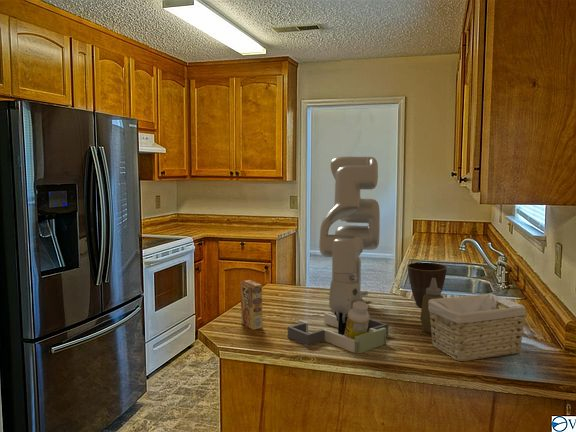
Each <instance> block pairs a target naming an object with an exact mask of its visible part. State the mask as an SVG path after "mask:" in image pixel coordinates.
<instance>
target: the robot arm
mask: <svg viewBox="0 0 576 432" xmlns="http://www.w3.org/2000/svg"><path fill="white" fill-rule="evenodd" d="M378 165H379V164H378V161H377V158H375V157H374V156H339V157H334V158H333V159H332V160H331V161H330V171H331V175H332V176H333V178H334V181H335V182H334V183H335V184H334V186H335V187H334V205H333V207H332V209H330V210H329V211H328V212H327V213H326V215H325V217H324V218H323V219H322V221H321V224H320V228H319V230H320V231H319V241H318V242H319V246H318V248H319V252H320V254H321V255H322V256H323V257H326V258H332V259H331V261H332V262H331V267H332V268H331V276H332V277H331V278H332V279H331V281H330V285H329V296H328V297H329V298H328V305H329V306H328V307H329V309H330V312H331V313H332V314H334V316H336V317H337V321H339V322H338V328H337V329H338V331H337V333H338V334H340V335H343V336H344V334H345V328H346V322H347V317H348V312H349V310H351V309H353V308H352V306H353V303H354V302H356V301H361V302H364V303H365V299H363V297H366V296H368V295H369V291H367V290H364V291H362V290H361V286H362V285H361V281H362V280H361V277H362V275H361V274H362V272H361V271H362V262H361V258H360V255H361V254H362V253H363V250H367V251H368V250H369V251H370V250H371V251H373V250H377V248H378V247H379V245H380V238H381V237H380V236H381V235H380V233H381V232H380V229H381V227H380V226H381V223H380V222H381V220H380V219H381V218H380V211H381V210H380V205H379V202H378V200H376V199H373V198H362V197H361V190H374V189H376V187H377V186H378V179H379V166H378ZM338 221H341V222H343V223H348V224H346V225H341V226H339V227H337V228H336V229H335V232H334V234H329V230H330V228H331V226H332V225H333V224H334V223H335V222H338ZM349 223H351V224H355V225H349ZM356 224H367V225H356Z"/></svg>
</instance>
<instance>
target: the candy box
mask: <svg viewBox="0 0 576 432" xmlns="http://www.w3.org/2000/svg"><path fill="white" fill-rule="evenodd" d="M239 284H240V285H239V286H240V315H241V316H240V321H241V324H242V325H244V326H245V327H247V328H249V329H250V330H259V329H263V328H264V327H263V325H264V324H263V323H264V322H263V318H264V317H263V316H264V315H263V284H261V283H259V282H256V281H254V280H251V279H248V280H241V281H240V282H239Z"/></svg>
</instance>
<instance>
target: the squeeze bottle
mask: <svg viewBox="0 0 576 432" xmlns="http://www.w3.org/2000/svg"><path fill="white" fill-rule="evenodd" d="M426 293H427V294H425V295H424V296H423V302H422V308H421V309H420V310H421V312H420V318H419V319H420V320H419V321H420V322H421V325H422V329H423V331H424V332H426V333H430V334H432V333H431V322H430V320H431V319H430V313H429V310H428V307H429V305H428V301H429V300H430V299H439V298H444V296H443V295H442V292H441V289H439V288H437V283H436V278H432V280H431V284H430V288H427V289H426ZM440 294H441V295H440Z"/></svg>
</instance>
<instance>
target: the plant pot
mask: <svg viewBox="0 0 576 432" xmlns="http://www.w3.org/2000/svg"><path fill="white" fill-rule="evenodd" d="M447 269H448V266H447V265H444V264H440V263H435V262H413V263H409V264H407V273H408V279H409V285H410V289H411V293H412V296H413V299H414V303H415V305H416V307H418V308H421V309H422V302H423V296H424V295H425V294H427V293H426V289H427V288H430V284H431V280H432V278H436V283H437V288H439V289H441V294H440V295H442V292H443V288H444V284H445V281H446V275H447V271H448V270H447Z"/></svg>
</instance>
